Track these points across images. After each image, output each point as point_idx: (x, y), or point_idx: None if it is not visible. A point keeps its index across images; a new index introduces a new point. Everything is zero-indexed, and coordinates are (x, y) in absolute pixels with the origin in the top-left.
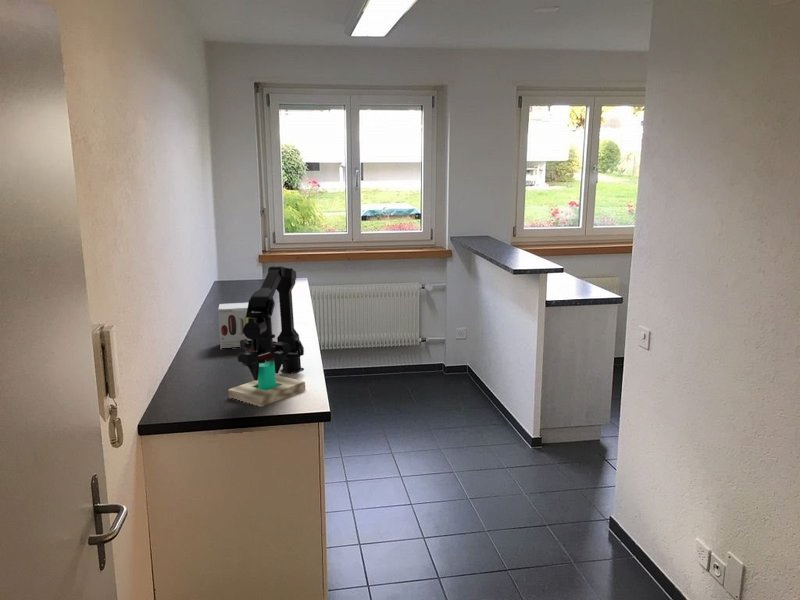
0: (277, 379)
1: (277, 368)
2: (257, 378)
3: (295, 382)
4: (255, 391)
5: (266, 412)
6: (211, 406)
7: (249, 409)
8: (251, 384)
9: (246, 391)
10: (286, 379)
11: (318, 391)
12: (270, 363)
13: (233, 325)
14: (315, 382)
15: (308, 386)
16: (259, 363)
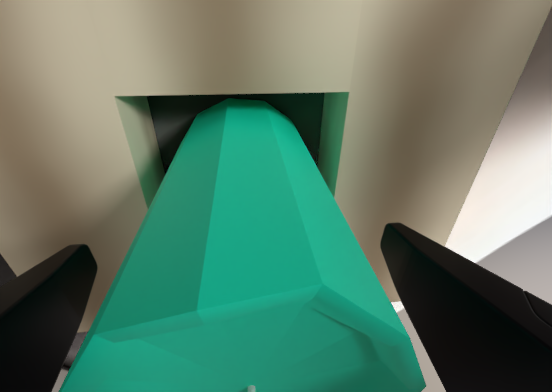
0: (411, 140)
1: (407, 300)
2: (83, 296)
3: (388, 279)
4: (85, 236)
5: (77, 340)
6: None
7: (12, 276)
8: (156, 35)
9: (10, 182)
10: (431, 197)
11: (396, 305)
12: (383, 365)
13: None
14: (523, 219)
15: (451, 237)
16: (212, 322)
